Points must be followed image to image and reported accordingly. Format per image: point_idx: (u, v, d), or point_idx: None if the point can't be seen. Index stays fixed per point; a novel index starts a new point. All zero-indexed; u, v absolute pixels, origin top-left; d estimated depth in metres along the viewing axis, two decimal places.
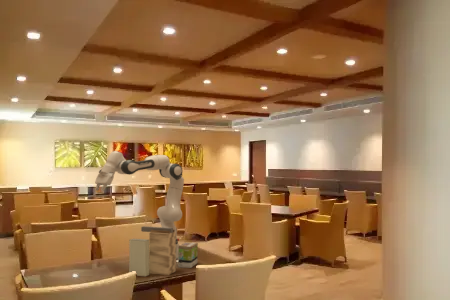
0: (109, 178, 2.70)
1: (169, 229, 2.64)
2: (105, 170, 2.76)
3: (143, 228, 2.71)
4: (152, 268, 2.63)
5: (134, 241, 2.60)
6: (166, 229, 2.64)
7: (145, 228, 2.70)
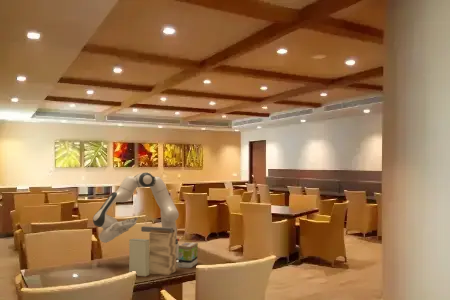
0: (115, 227, 2.69)
1: (169, 229, 2.64)
2: (117, 233, 2.77)
3: (143, 228, 2.71)
4: (152, 268, 2.63)
5: (134, 241, 2.60)
6: (166, 229, 2.64)
7: (145, 228, 2.70)
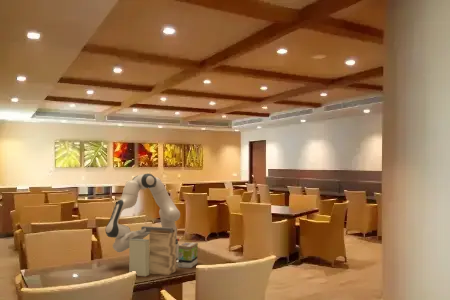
0: (130, 237, 2.65)
1: (169, 229, 2.64)
2: None
3: (143, 228, 2.71)
4: (152, 268, 2.63)
5: (134, 241, 2.60)
6: (166, 229, 2.64)
7: None
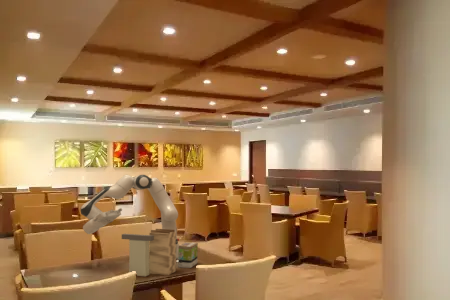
0: (98, 218, 2.66)
1: (149, 237, 2.56)
2: (101, 224, 2.73)
3: (123, 235, 2.64)
4: (152, 268, 2.63)
5: (134, 241, 2.60)
6: (146, 237, 2.57)
7: (125, 235, 2.63)
